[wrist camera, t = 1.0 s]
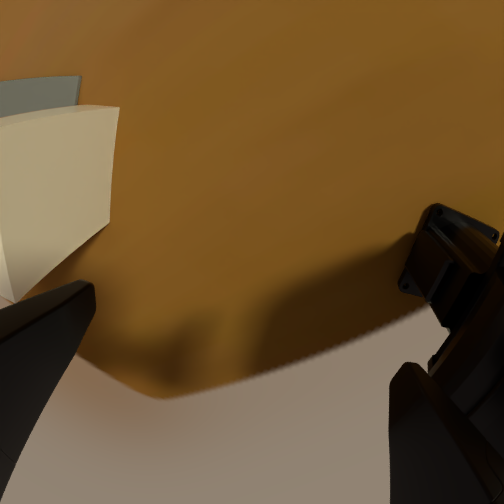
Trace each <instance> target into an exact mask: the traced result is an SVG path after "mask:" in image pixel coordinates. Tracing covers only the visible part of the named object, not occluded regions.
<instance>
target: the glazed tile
mask: <svg viewBox="0 0 504 504" xmlns="http://www.w3.org/2000/svg"><path fill="white" fill-rule="evenodd" d="M119 108H120V107H110V106H97V105H75V106H66V107H58V108H51V109H44V110H38V111H32V112H26V113H21V114H16V115H11V116H6V117H1V118H0V295H1V296H2V297H4V298H6V299H8V300H10V301H12V302H13V303H17V302H18V301H19V300H20V299H21V298H22V297H23V296H24V295H25V294H26V293H27V292H28V291H29V290H30V289H32V288H33V287H34V286H35V285H36V284H37V283H38V282H39V281H40V280H41V279H42V278H44V277H45V276H46V275H47V274H48V273H49V272H50V271H51V270H53V269H54V268H55V267H56V266H57V265H58V264H59V263H61V262H62V261H63V260H64V259H65V258H66V257H68V256H69V255H70V254H71V253H72V252H73V251H75V250H76V249H77V248H78V247H79V246H81V245H82V244H83V243H84V242H86V241H87V240H88V239H89V238H91V237H92V236H93V235H94V234H96V233H97V232H98V231H99V230H101V229H102V228H103V227H104V226H106V225H107V224H108V223H110V196H111V180H112V167H113V156H114V146H115V138H116V129H117V122H118V115H119Z"/></svg>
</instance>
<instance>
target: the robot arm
mask: <svg viewBox="0 0 504 504" xmlns="http://www.w3.org/2000/svg"><path fill="white" fill-rule="evenodd" d="M438 209H440V213H439V214H436V213H437V210H438ZM493 234H494V236H493V237H492V235H493ZM498 239H499V232H498V231H497V230H496V229H495V228H493V227H491V226H489V225H487V224H485V223H483V222H480V221H478V220H476V219H474V218H472V217H470V216H468V215H465V214H463V213H461V212H459V211H456V210H454V209H452V208H450V207H447V206H445V205H443V204H440V203H436V204H434V205H433V206H432V208H431V210H430V212H429V215H428V217H427V220H426V222H425V225H424V227H423V229H422V231H421V232H420V233H419V235H418V237H417V239H416V242H415V244H414V246H413V248H412V251H411V253H410V255H409V257H408V259H407V261H406V264H405V266H406V267H405V269H404V271H403V273H402V275H401V277H400V279H399V281H398V287H399V289H400V291H401V292H404V293H408V294H412V295H416V296H420V297H424V299H425V301H426V302H427V303H429V305H430V306H431V308H432V310H433V312H434V313H435V315H436V317H437V319H438V321H439V323H440V324H441V326H442V327H445V328H447V330H448V332H449V336H448V337H447V339H446V340H445V342H444V343H443V344H442V346H441V347H440V349H439V350H438V351H437V353H436V354H435V355H432V357H431V358H430V360H429V361H428V374H427V373H426V371H425V370H424V369H423V368H422V367H421V366H420V365H419V364H417V363H412V362H405V363H404V364H403V365H402V366H401V368H400V369H399V370H398V372H397V373H396V374H395V376H394V377H393V378H392V380H391V382H390V386H389V453H390V504H504V233H503V235H502V237H501V239H500V242H501V244H500V246H499V247H498V246H497V245H496V243H497V241H498ZM405 283H407V285H406V286H403V285H404V284H405ZM95 311H96V299H95V288H94V285H93V284H92V283H91V282H88V281H85V280H82V279H80V280H77V281H74V282H71V283H68V284H66V285H63V286H60V287H58V288H55V289H52V290H49V291H47V292H44V293H41V294H39V295H36V296H33V297H31V298H28V299H26V300H23V301H20V302H18V303H15V304H12V305H10V306H7V307H5V308H2V309H0V501H1V498H2V496H3V493H4V491H5V488H6V486H7V484H8V481H9V479H10V477H11V474H12V472H13V470H14V468H15V465H16V464H15V463H17V461H18V458H19V456H20V454H21V452H22V450H23V448H24V446H25V444H26V442H27V440H28V438H29V435H30V434H31V432H32V430H33V428H34V426H35V424H36V422H37V420H38V418H39V416H40V414H41V413H42V411H43V409H44V407H45V405H46V403H47V402H48V400H49V398H50V396H51V394H52V393H53V391H54V389H55V387H56V386H57V384H58V382H59V380H60V379H61V377H62V375H63V373H64V372H65V370H66V368H67V367H68V365H69V363H70V362H71V360H72V358H73V357H74V355H75V353H76V351H77V349H78V347H79V345H80V343H81V340H82V338H83V336H84V334H85V332H86V330H87V328H88V326H89V324H90V322H91V320H92V318H93V316H94V314H95Z"/></svg>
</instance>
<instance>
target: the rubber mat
mask: <svg viewBox="0 0 504 504" xmlns="http://www.w3.org/2000/svg"><path fill="white" fill-rule="evenodd" d="M81 77H82V76H58V77H41V78H28V79H18V80H10V81H2V82H0V118H1V117H6V116H11V115H16V114H21V113H26V112H32V111H38V110H44V109H51V108H58V107H66V106H75V105H77V103H78V96H79V89H80V83H81Z"/></svg>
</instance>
